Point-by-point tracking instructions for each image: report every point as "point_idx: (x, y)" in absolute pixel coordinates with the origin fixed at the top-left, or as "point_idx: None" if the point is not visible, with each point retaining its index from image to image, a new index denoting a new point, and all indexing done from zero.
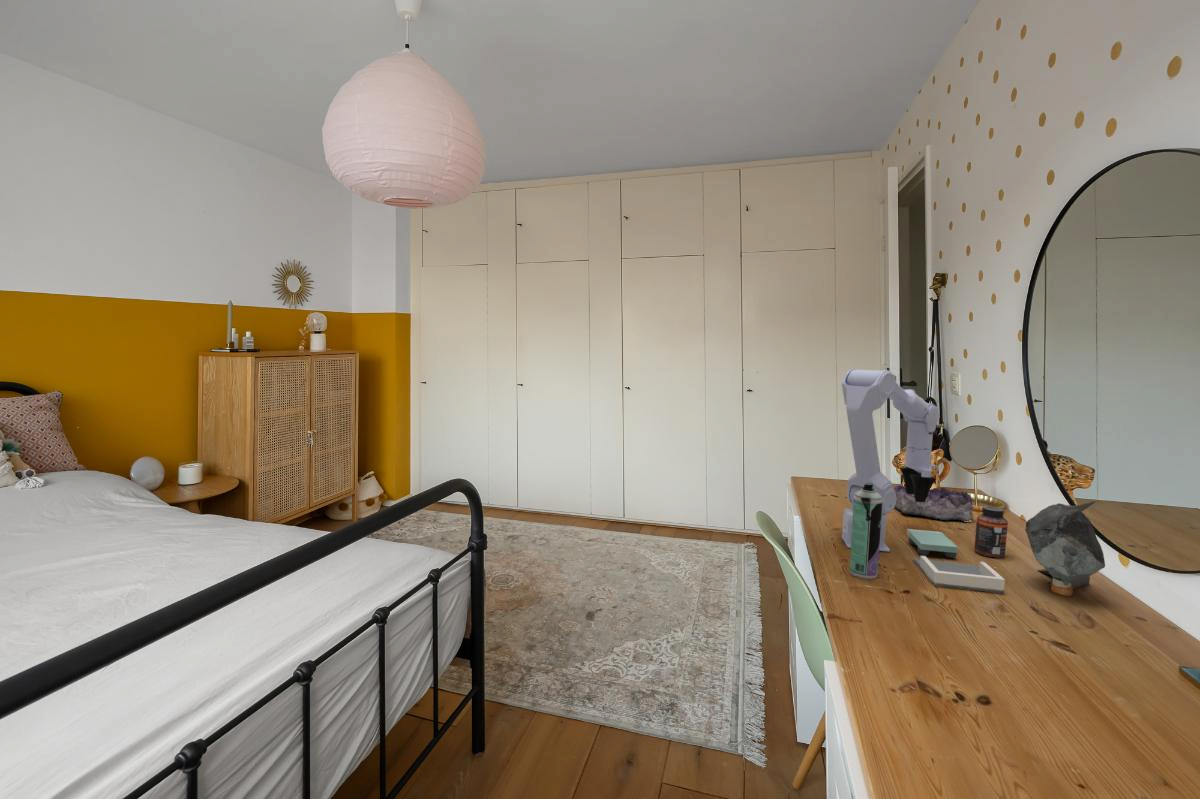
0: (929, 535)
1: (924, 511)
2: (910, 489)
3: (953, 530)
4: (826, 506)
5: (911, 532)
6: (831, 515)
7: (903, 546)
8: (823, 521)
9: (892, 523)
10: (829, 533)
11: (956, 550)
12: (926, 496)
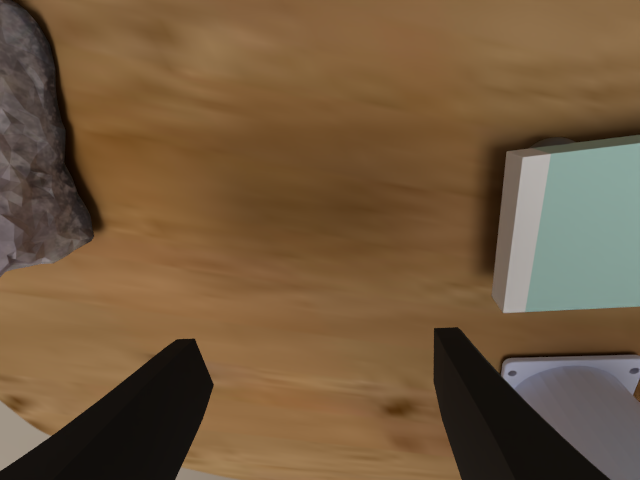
0: (605, 234)
1: (41, 152)
2: (185, 405)
3: (198, 16)
4: None
5: (561, 306)
6: (259, 436)
7: None
8: (338, 459)
9: (245, 287)
10: None
11: None
12: (493, 371)
